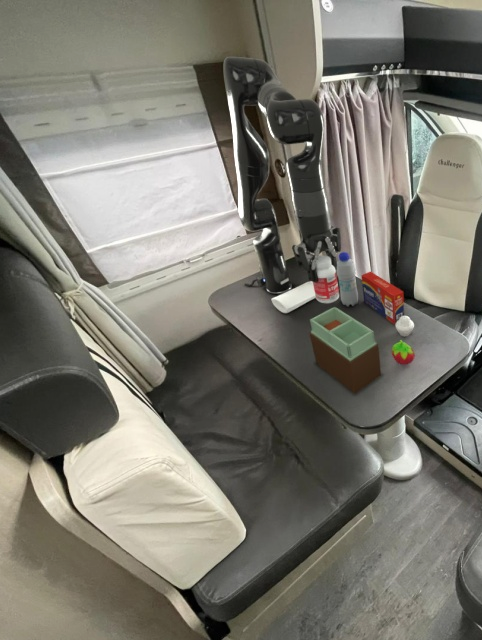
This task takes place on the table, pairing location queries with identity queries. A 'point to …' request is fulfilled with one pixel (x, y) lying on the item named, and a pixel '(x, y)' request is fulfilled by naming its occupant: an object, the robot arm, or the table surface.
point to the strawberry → (402, 353)
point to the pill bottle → (326, 281)
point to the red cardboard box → (383, 297)
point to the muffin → (404, 326)
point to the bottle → (347, 279)
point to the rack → (345, 349)
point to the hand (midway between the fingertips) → (323, 275)
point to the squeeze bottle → (294, 297)
